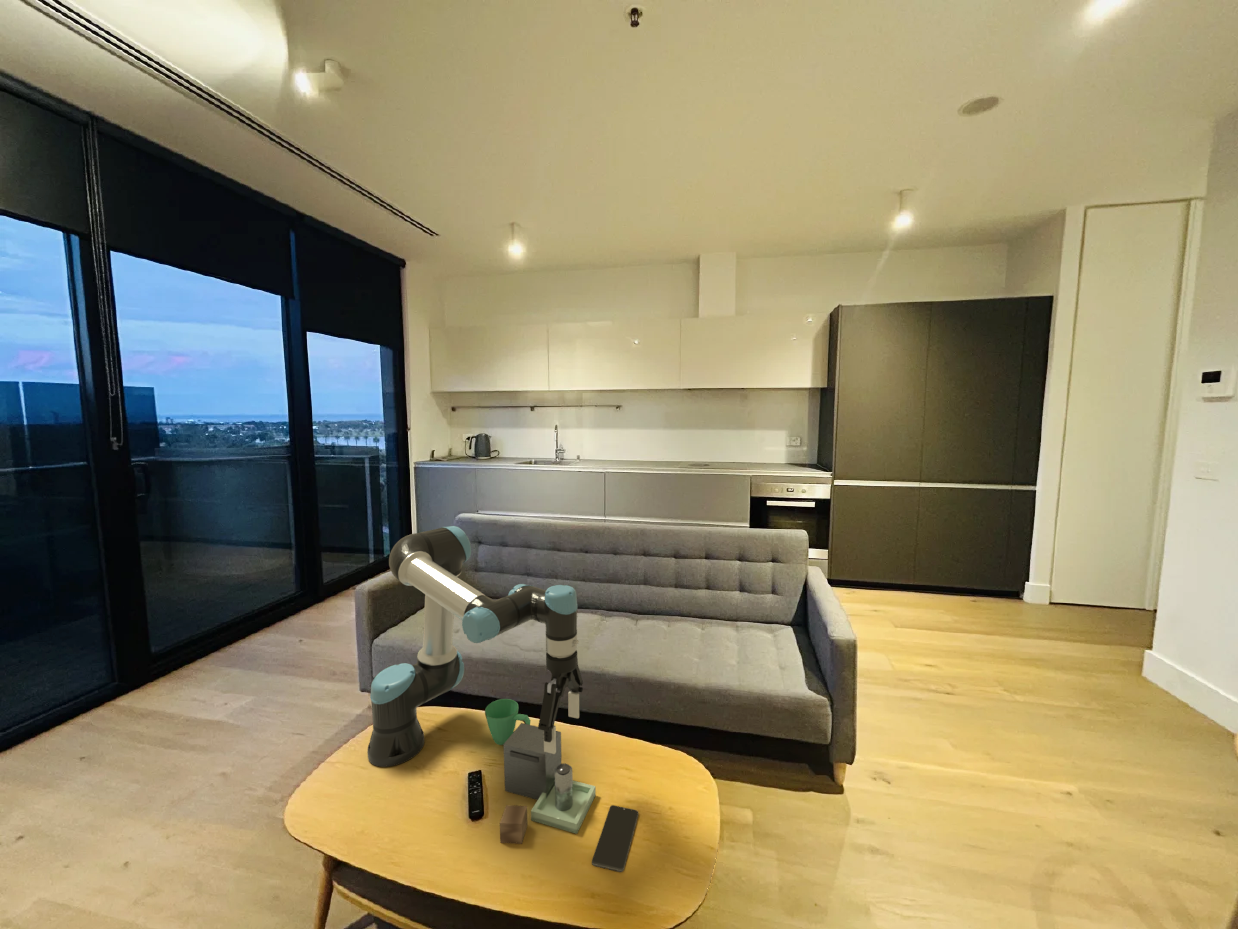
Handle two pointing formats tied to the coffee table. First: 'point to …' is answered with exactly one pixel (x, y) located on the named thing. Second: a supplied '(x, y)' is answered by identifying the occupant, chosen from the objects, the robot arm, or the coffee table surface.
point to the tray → (567, 819)
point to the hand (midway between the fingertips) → (562, 733)
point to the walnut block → (513, 824)
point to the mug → (503, 719)
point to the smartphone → (615, 839)
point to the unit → (529, 762)
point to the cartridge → (563, 787)
